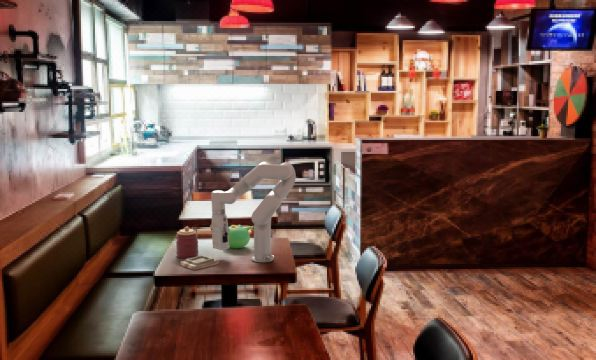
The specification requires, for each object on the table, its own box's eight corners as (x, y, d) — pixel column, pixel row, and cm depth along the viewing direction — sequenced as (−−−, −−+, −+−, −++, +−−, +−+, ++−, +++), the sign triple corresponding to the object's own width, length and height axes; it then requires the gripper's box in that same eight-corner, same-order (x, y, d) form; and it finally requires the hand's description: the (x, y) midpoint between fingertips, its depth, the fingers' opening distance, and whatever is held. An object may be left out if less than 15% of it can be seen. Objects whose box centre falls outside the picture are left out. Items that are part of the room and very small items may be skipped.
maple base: (218, 263, 364) (218, 258, 364) (194, 270, 352) (194, 264, 352) (204, 259, 373) (204, 253, 373) (180, 265, 361) (180, 259, 361)
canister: (174, 258, 374) (173, 229, 371) (178, 252, 387) (177, 224, 384) (197, 258, 374) (196, 229, 371) (199, 252, 387) (199, 224, 384)
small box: (229, 248, 373) (228, 226, 371) (220, 250, 369) (219, 228, 367) (221, 245, 379) (220, 224, 377) (212, 248, 375) (211, 226, 373)
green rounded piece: (217, 247, 400) (217, 224, 397) (239, 242, 411) (238, 220, 409) (234, 252, 387) (234, 229, 384) (256, 248, 398) (256, 224, 396)
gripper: (233, 212, 367) (235, 242, 370) (214, 209, 379) (216, 237, 382) (223, 214, 362) (224, 244, 365) (204, 211, 374) (206, 240, 377)
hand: (220, 241), depth 373 cm, fingers closed on small box, 8 cm apart
